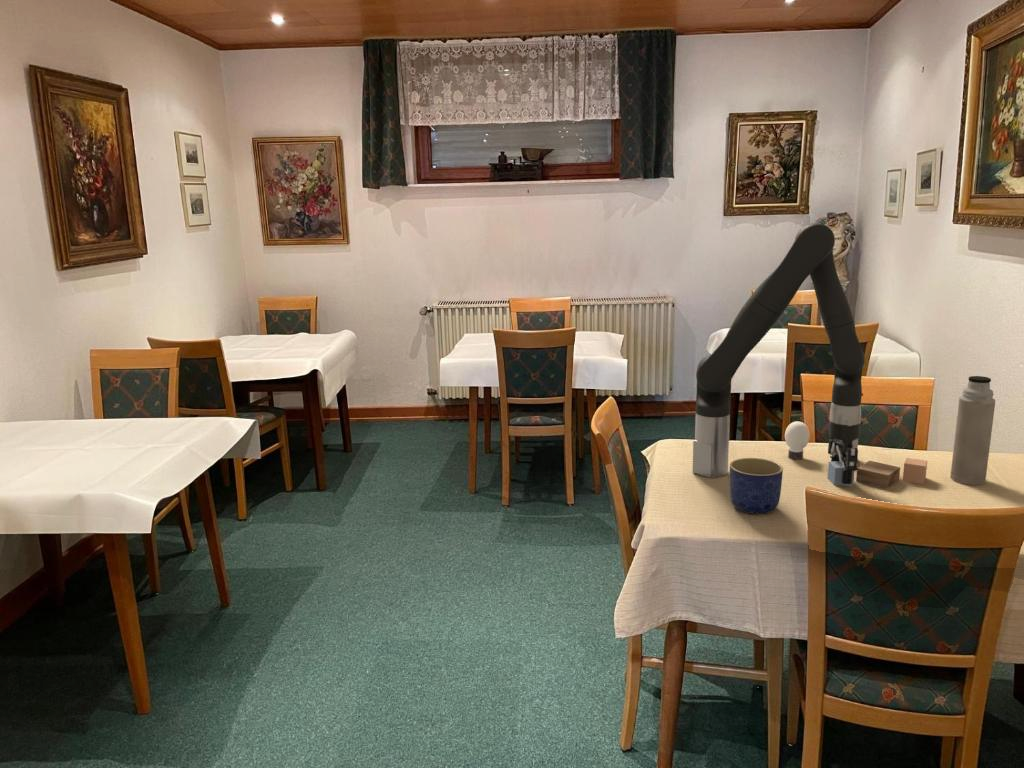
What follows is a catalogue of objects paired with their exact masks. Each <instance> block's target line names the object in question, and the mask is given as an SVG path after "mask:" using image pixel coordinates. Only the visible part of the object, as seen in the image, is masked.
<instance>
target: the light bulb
mask: <svg viewBox="0 0 1024 768" xmlns="http://www.w3.org/2000/svg"><path fill="white" fill-rule="evenodd" d="M810 435H811V434H810V431H809V427H808V426H807V425H806V424H805V423H804V422H802V421H800V420H799V421H792V422H791V423H790V424H788V426H787V427H786V429H785V433H784V439H785V443H786V445H787V447H789V449H788V453H787V454H788V455H787V457H788V458H789V459H791V460H803V458H804V448H805V447H807V445H808V443H809V441H810V438H811V437H810Z"/></svg>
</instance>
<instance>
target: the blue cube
mask: <svg viewBox="0 0 1024 768" xmlns="http://www.w3.org/2000/svg"><path fill="white" fill-rule="evenodd" d="M845 463H846V462H845ZM849 466H850V464H849ZM855 472H856V471H852V482H851V484H843V483H842V474H843V466H842V463H841V462H840V461H831V460H830V461H828V466H827V480H828V481H829V482H830V483H831V484H832V485H833V486H854V482H855V481H854V480H855Z"/></svg>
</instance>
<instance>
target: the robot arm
mask: <svg viewBox="0 0 1024 768" xmlns="http://www.w3.org/2000/svg"><path fill="white" fill-rule="evenodd" d="M835 243H836V238H835V233H834V232H833V230H832V228H830V227H829V226H828V225H825V224H823V223H819V222H815V223H813V222H812V223H808V224H806V225H804V226H803V227H801V228H800V229H799V230H798V232H797V233H796V235H795V238H794V241H793V243H792V245H791V247H790V248H789V250H788V251H787V253H786V255H785V256H784V258H783V259H782V260H781V262H780V264H778V266H777V267H776V268H775V269H774V271H772V273H770V274H769V275H768V276H767V277H766V278H765V279H764V280H763V281H762V282H761V283H760V285H759V286H758V287H757V288H756V289H755V290H754V291H753V293H751V295H750V296H749V298H748V299H747V300H746V301H745V303H744V304H743V306H742V307H741V309H740V310H739V312H738V314H737V315H736V317H735V318H734V320H733V322H732V324H731V325H730V327H729V330H728V332H727V333H726V335H725V337H724V338H723V340H722V341H721V343H720V344H719V345H718V346H717V348H716V349H715V350H714V351H713V352H712V353H711V354H708V355H706V356H705V357H703V358H702V359H701V360H700V361H699V363H698V364H697V368H696V369H697V370H696V373H695V378H696V397H695V420H694V421H695V423H694V424H695V429H694V440H693V442H692V444H693V445H692V474H695V473H697V474H696V475H699V474H700V475H699V476H702V475H703V476H702V477H706V478H709V479H712V478H719V477H725V476H726V475H728V473H729V453H730V452H729V447H730V446H729V445H730V424H731V405H732V404H731V402H732V401H731V399H732V398H731V397H732V395H731V394H732V379H733V378H734V376H735V374H736V372H737V371H738V370H739V368H740V367H741V364H742V363H743V361H744V360H745V359H746V357H747V356H748V355H749V354H750V353H751V351H753V350H754V348H756V346H757V345H758V344H759V343H760V341H762V339H763V338H764V337H765V336H766V335H767V334H768V333H769V331H770V330H771V329H772V328H773V327H774V326H775V324H776V323H777V321H778V320H779V319H780V317H781V316H782V315H783V314H784V312H785V311H786V309H787V308H788V307H789V305H790V304H791V302H792V300H793V298H795V296H796V294H797V292H798V291H799V289H800V287H802V284H803V283H804V282H805V281H806V279H807V278H808V277H809V276H810V279H811V282H812V285H813V288H814V293H815V296H816V301H817V305H818V310H819V314H820V317H821V320H822V323H823V327H824V330H825V332H826V335H827V337H828V340H829V345H830V346H829V347H830V349H831V353H832V354H831V355H832V358H833V361H834V367H833V368H834V374H833V375H834V377H833V378H834V380H833V381H834V382H833V385H832V390H831V391H832V392H831V402H830V408H829V420H828V436H829V437H828V446H827V454H828V455H829V458H830V461H840V462H841V463H842V466H843V474H842V483H843V484H851V482H852V471H855V472H857V468H858V459H859V458H858V457H859V449H857V448H853V444H852V441H854V440H856V439H858V440H859V438H860V433H861V421H862V407H861V406H862V397H863V396H862V393H863V392H862V391H863V389H862V377H863V376H862V375H863V369H864V366H865V361H866V359H865V358H866V357H865V353H864V350H863V349H862V347H861V344H860V342H859V338H858V336H857V332H856V331H857V330H856V323H855V321H854V317H853V314H852V311H851V307H850V304H849V301H848V298H847V296H846V293H845V290H844V289H843V285H842V283H841V281H840V278H839V275H838V272H837V269H836V264H835V258H834V250H833V249H834V247H835ZM845 462H846V463H845ZM849 464H850V466H849Z"/></svg>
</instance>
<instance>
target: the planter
mask: <svg viewBox="0 0 1024 768" xmlns="http://www.w3.org/2000/svg"><path fill="white" fill-rule="evenodd" d="M783 473H784V467H783V466H782V465H781V464H780V463H778V462H776V461H773V460H769V459H764V458H760V457H759V458H756V457H746V458H745V457H744V458H738V459H735V460H733V461H731V462H730V464H729V493H730V501H731V504H732V506H734V507H735V508H736V509H737V510H739V511H741V512H743V513H748V514H753V515H754V514H755V515H756V514H757V515H762V514H768V513H771V512H773V511H775V510H776V509H777V507H778V505H779V504H780V499H781V492H782V482H783Z"/></svg>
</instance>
